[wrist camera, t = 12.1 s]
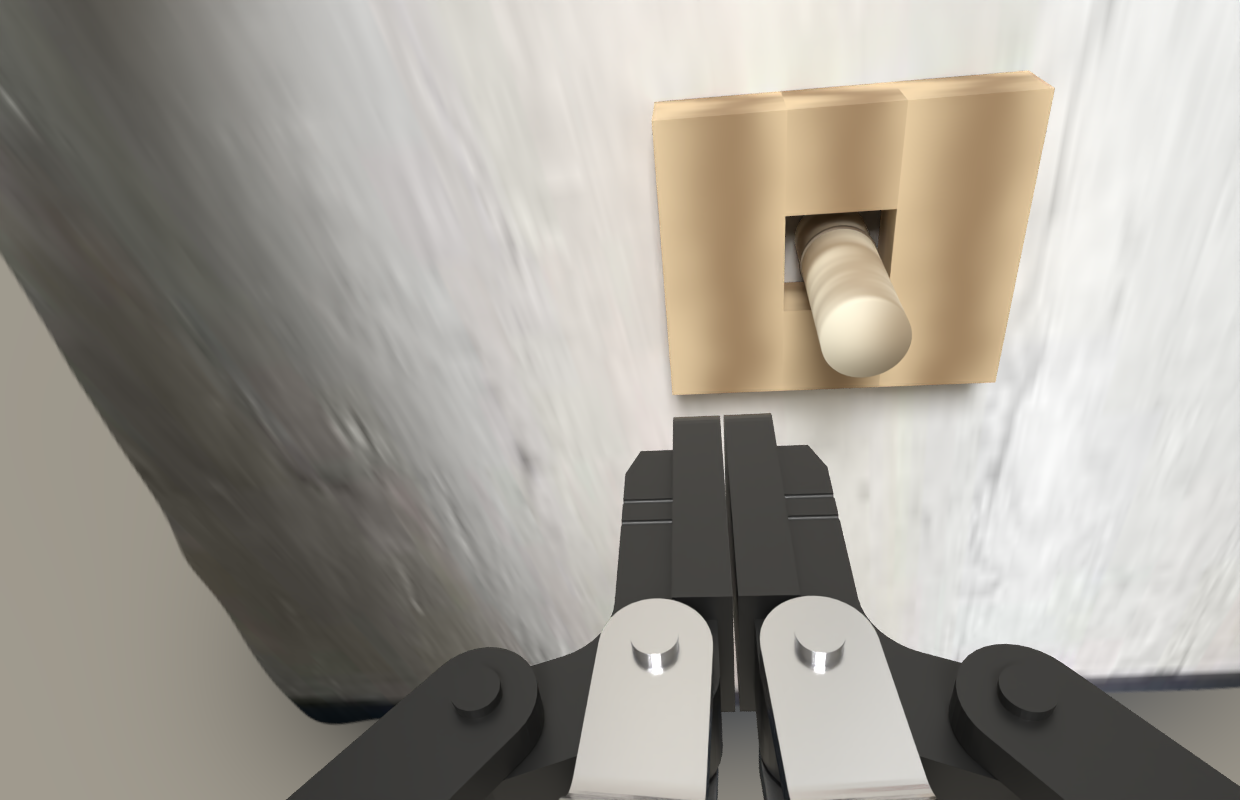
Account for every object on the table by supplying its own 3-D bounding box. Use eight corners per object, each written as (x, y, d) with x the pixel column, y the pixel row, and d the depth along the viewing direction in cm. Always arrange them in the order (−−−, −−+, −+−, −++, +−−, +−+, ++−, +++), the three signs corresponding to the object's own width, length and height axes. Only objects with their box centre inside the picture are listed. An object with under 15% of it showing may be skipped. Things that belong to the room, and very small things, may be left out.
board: (674, 364, 44) (672, 395, 41) (654, 102, 36) (651, 121, 33) (977, 350, 42) (995, 382, 39) (1028, 70, 34) (1054, 88, 31)
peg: (792, 270, 40) (817, 380, 32) (794, 204, 38) (821, 302, 30) (864, 266, 39) (908, 376, 31) (869, 199, 37) (918, 297, 29)
